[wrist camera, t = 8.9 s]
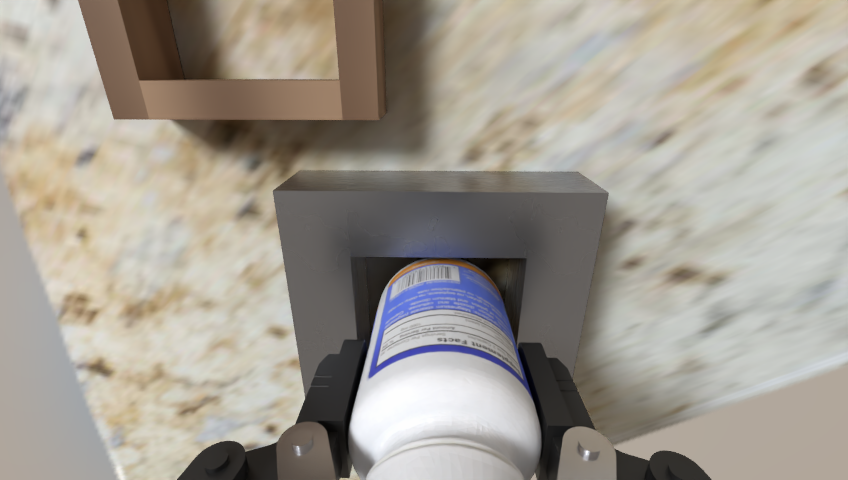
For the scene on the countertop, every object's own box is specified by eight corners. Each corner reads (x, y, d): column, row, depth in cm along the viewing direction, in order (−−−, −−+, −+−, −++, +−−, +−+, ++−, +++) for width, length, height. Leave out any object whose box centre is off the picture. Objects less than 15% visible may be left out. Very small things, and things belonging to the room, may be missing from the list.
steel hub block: (578, 172, 16) (608, 192, 13) (543, 387, 21) (561, 436, 18) (299, 170, 16) (273, 190, 13) (326, 384, 21) (310, 431, 18)
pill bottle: (468, 371, 19) (500, 651, 10) (361, 332, 18) (288, 595, 9) (525, 280, 17) (633, 526, 8) (408, 231, 16) (374, 441, 7)
